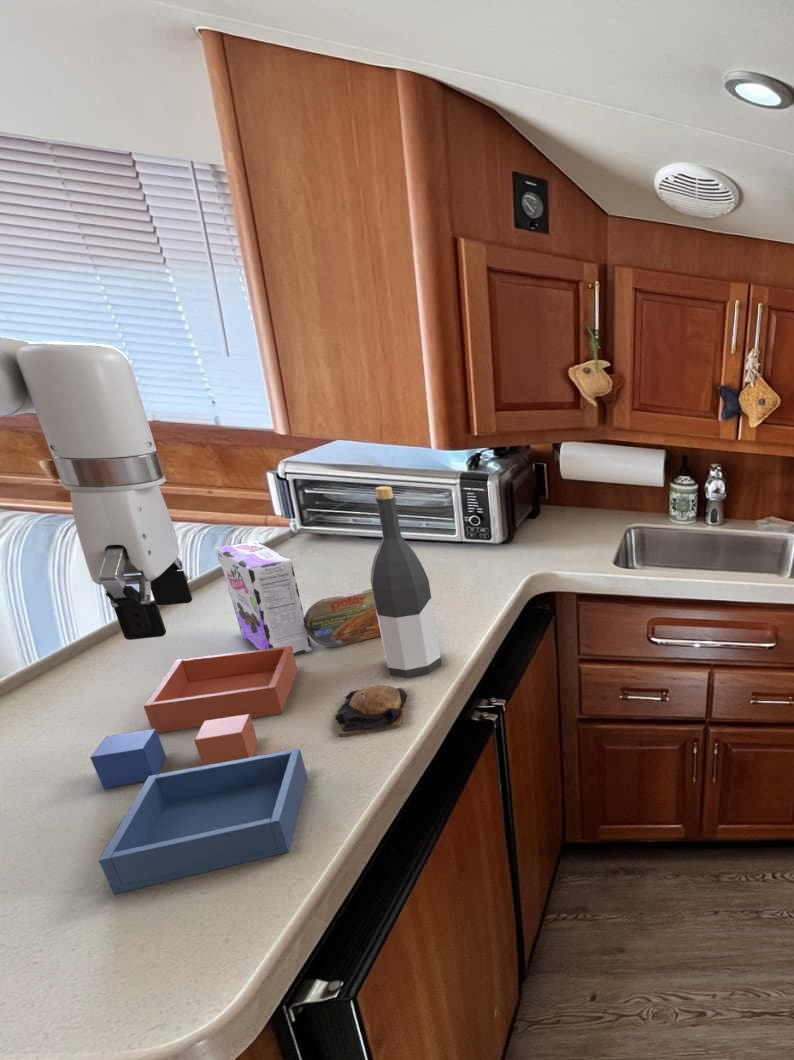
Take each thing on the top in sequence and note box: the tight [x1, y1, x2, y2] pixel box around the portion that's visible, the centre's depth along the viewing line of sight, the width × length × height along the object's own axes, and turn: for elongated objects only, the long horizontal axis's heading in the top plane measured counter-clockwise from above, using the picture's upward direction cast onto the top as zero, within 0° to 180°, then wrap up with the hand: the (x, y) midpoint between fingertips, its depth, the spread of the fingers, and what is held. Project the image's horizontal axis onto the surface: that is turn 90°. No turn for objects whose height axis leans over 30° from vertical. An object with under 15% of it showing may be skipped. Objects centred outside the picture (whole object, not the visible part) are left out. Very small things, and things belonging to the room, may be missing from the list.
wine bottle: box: [370, 485, 442, 679], centre depth 99 cm, size 8×8×30 cm
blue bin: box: [98, 748, 308, 895], centre depth 69 cm, size 14×14×4 cm
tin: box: [304, 588, 381, 648], centre depth 111 cm, size 15×3×8 cm, turn 138°
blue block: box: [89, 728, 168, 789], centre depth 76 cm, size 4×4×4 cm
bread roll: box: [334, 684, 408, 737], centre depth 91 cm, size 11×8×4 cm
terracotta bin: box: [143, 646, 299, 734], centre depth 92 cm, size 14×14×4 cm
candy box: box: [215, 540, 313, 656], centre depth 105 cm, size 14×6×16 cm, turn 56°
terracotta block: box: [193, 714, 259, 766], centre depth 80 cm, size 4×4×4 cm
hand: (161, 619), depth 72 cm, fingers open, 9 cm apart
